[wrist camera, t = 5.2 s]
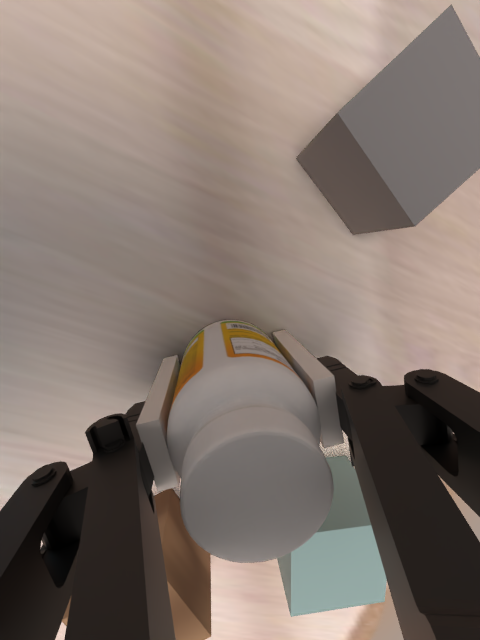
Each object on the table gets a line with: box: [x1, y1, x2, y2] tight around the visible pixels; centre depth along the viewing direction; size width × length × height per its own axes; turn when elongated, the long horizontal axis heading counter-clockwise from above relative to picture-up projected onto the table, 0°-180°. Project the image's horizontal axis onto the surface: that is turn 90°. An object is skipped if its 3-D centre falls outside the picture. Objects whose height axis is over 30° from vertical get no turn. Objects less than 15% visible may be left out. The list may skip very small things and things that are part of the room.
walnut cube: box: [62, 488, 211, 640], centre depth 16 cm, size 5×5×5 cm
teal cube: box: [277, 456, 387, 617], centre depth 17 cm, size 5×5×5 cm
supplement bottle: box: [167, 320, 334, 563], centre depth 12 cm, size 5×5×10 cm
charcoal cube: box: [296, 4, 480, 235], centre depth 13 cm, size 5×5×5 cm
